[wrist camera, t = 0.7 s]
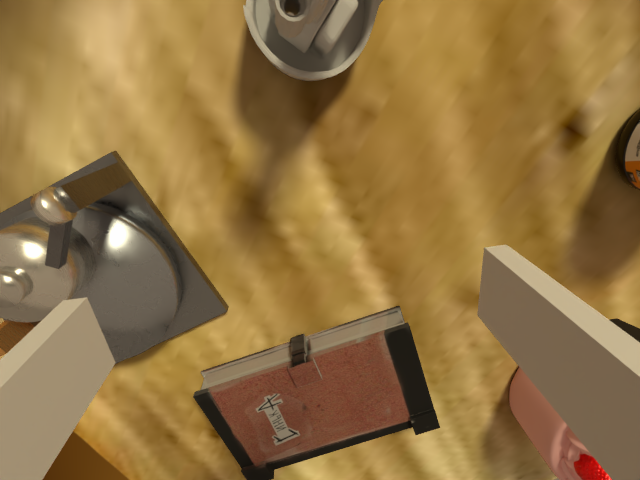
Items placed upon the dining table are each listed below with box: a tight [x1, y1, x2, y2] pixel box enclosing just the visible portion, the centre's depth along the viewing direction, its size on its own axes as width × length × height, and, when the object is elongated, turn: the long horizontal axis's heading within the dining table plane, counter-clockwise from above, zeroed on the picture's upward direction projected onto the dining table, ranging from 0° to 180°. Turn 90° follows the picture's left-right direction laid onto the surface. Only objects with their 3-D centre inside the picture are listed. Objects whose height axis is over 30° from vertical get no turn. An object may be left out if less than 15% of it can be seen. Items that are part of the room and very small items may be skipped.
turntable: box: [0, 202, 182, 361], centre depth 35 cm, size 18×18×6 cm
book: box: [193, 306, 440, 480], centre depth 45 cm, size 26×18×5 cm
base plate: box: [0, 151, 228, 364], centre depth 38 cm, size 20×20×1 cm
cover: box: [0, 217, 96, 322], centre depth 31 cm, size 8×8×6 cm
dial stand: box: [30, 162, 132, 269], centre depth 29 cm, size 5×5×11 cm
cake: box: [509, 367, 612, 480], centre depth 44 cm, size 20×20×14 cm
